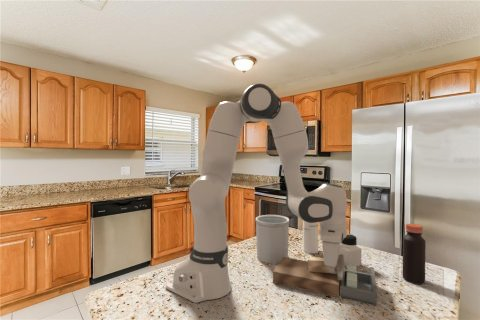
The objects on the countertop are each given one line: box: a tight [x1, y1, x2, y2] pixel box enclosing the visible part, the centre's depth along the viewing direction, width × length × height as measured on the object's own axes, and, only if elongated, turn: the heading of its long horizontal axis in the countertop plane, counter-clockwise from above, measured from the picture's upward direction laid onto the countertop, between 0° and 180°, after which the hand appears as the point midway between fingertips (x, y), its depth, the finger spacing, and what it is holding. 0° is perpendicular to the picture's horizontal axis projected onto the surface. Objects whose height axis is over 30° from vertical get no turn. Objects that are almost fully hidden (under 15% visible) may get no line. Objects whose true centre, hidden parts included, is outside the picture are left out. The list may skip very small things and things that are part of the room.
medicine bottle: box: [338, 233, 362, 268], centre depth 105 cm, size 7×7×12 cm
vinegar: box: [402, 223, 427, 285], centre depth 91 cm, size 7×7×20 cm
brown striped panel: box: [272, 257, 341, 298], centre depth 90 cm, size 22×14×4 cm, turn 65°
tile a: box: [347, 272, 357, 289], centre depth 81 cm, size 5×5×3 cm
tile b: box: [346, 265, 357, 274], centre depth 87 cm, size 5×5×3 cm
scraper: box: [307, 254, 346, 280], centre depth 88 cm, size 12×12×4 cm
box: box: [339, 266, 378, 306], centre depth 83 cm, size 10×14×6 cm
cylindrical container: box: [302, 220, 319, 254], centre depth 119 cm, size 7×7×25 cm
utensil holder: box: [255, 214, 290, 265], centre depth 110 cm, size 15×15×18 cm
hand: (332, 269), depth 87 cm, fingers closed on scraper, 3 cm apart
